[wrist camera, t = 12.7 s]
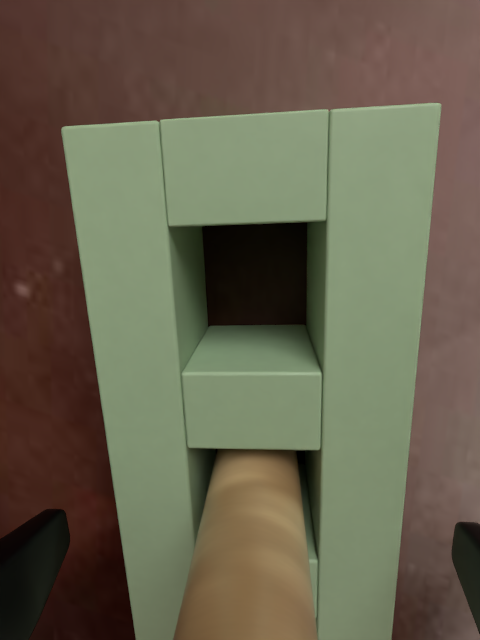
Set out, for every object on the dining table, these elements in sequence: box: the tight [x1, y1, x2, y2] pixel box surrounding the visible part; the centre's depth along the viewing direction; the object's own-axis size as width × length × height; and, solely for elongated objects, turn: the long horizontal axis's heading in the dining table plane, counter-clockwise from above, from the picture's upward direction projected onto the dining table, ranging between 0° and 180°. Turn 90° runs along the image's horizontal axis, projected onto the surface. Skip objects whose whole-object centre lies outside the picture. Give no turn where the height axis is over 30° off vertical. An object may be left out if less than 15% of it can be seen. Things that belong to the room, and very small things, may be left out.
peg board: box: [61, 103, 441, 640], centre depth 11 cm, size 7×18×4 cm, turn 2°
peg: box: [173, 449, 318, 640], centre depth 9 cm, size 2×2×9 cm
